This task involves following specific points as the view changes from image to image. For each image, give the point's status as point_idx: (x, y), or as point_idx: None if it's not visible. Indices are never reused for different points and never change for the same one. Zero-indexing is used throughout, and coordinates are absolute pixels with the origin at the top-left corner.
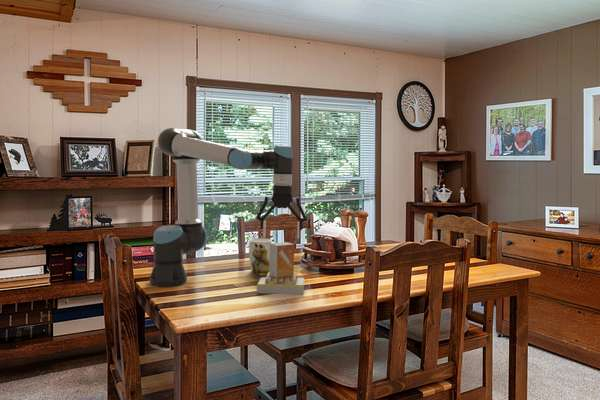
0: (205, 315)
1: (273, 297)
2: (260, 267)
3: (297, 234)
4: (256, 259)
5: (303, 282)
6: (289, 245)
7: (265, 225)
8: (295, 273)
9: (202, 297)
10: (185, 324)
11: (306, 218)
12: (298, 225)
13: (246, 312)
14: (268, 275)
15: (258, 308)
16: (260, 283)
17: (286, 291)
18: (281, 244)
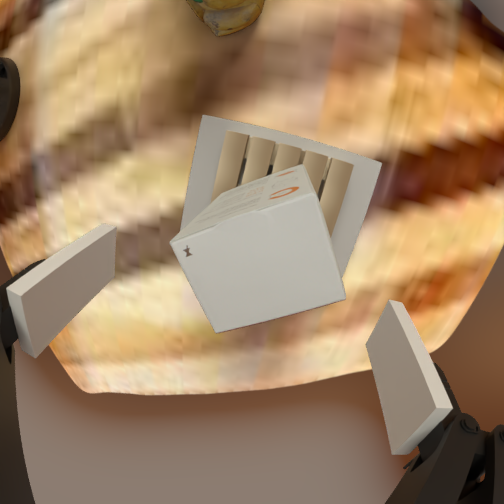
0: (97, 364)
1: None
2: (208, 18)
3: (374, 367)
4: None
5: (358, 232)
6: (306, 308)
7: (56, 298)
8: (345, 181)
9: (60, 248)
10: (84, 387)
11: (471, 480)
12: (395, 431)
13: (164, 375)
14: (217, 196)
15: (188, 362)
16: (190, 216)
17: None
18: (248, 301)
